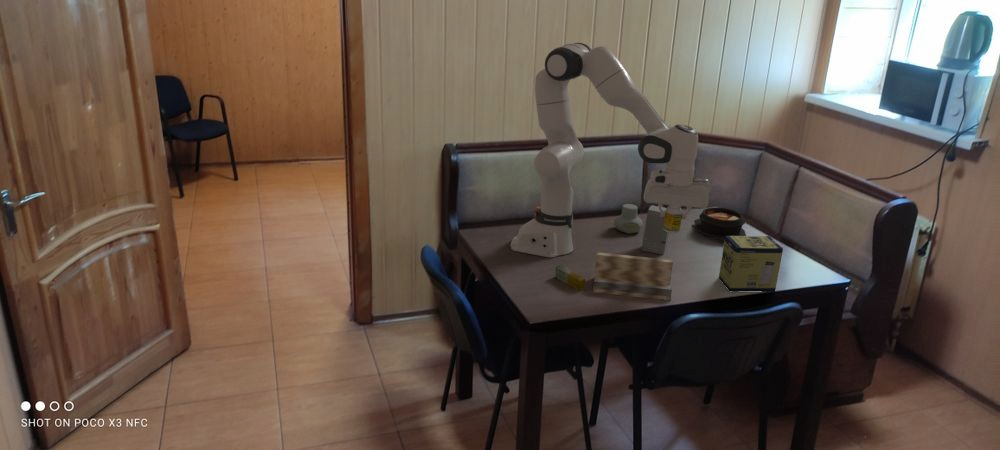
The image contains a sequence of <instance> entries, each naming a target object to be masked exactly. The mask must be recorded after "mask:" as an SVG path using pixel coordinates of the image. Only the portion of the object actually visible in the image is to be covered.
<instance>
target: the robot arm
mask: <svg viewBox="0 0 1000 450" xmlns="http://www.w3.org/2000/svg"><path fill="white" fill-rule="evenodd" d="M544 61H545V62H544V69H541V70H540V71H538V72H537V74H536V75H535V81H534V82H535V84H534V91H535V92H534V95H535V105H536V112H537V113H536V114H537V118H538V119H537V121H538V126H539V127H540V130H541V131H543V133H544V135H545V137H546V140H547V143H548V145H547V146H544V147H543V148H541V150H539V152H538V153H537V155H535V158H534V161H533V165H534V166H533V167H534V170H535V171H536V173H537V174H538V176H539V180H540V181H539V182H540V187H541V195H540V206H538V205H537V206H535V208H534V214H533V215H534V216H533V218H532V219H531V220H529V221H528V222H526V223H524V224H522V226H521V227H520V229H519V230H518V233H517V235H516V236H514V237H513V238H512V240H511V242H510V249H511V250H512V251H514V252H519V253H524V254H528V255H529V254H530V255H534V256H535V255H536V256H540V257H545V258H556V257H558V256H564V255H568V254H570V253H572V252H573V251H574V245H573V238H572V227H573V222H574V221H573V220H574V212H573V201H574V189H573V188H572V186H571V181H570V172H571V170H573V169H574V168H576V167H578V165H580V163H581V161H582V160H583V158H584V155H585V149H584V146H583V143H581V141H579V138H578V136H577V133H576V130H575V128H574V125H573V120H572V114H571V113H572V112H571V107H570V99H569V92H568V85H569V83H570V81H571V80H575V79H576V78H579V77H581V76H583V77H586V78H588V80H589V81H590V82H591V84H592V85H593V87H594V88H595V89H596V92H597V93H598V94H599V96H600V97H601V98H602V99H603V100H604V101H605V102H606V104H608V105H609V106H612V107H617V108H621V109H624V110H626V111H628V112H630V113H631V114H632V115H633V116H634V117H635V119H636V120H637V121H638V122H639V124H640V125H641V127H642V128H643V130H644V131H645V132H646V135H644V136H643V137H642V138H641V139H640V140H639V142H638V145H637V151H638V155H639V157H640V158H641V159H642V160H643V161H644V162H646V163H648V164H665V167H664V168H661V169H655V170H652V171H651V173H650V176H649V177H650V178H649V179H648V181H647V182H646V185H645V188H644V191H643V200H644V202H645V203H648V204H655V205H656V204H657V206H658V207H659V209H660V212H661V213H660V217H665V213H666V212H665V211H663V210H662V207H664V205H666V206H668V205H672V204H677V205H679V206H681V207H686V210H685V211H684V212H683V211H682V219H681V220H687V217H688V215H689V213H691V211H692V208H697V209H698V208H699V209H707V207H708V206H709V199H710V198H709V196H710V194H709V193H711V191H712V187H713V184H712V182H711V181H710V180H708V179H706V178H704V179H701V178H698V177H697V178H695V177H694V176H695V169H696V167H695V161H696V160H697V157H698V149H699V134H698V132H697V130H696V129H694V128H693V127H691V126H689V125H686V124H675V125H673V126H671V125H669V124H668V123H666V122H665V121H664V120H663V118H662V116H661V117H660V115H659V114H658V112H657V111H656V110H655V108H654V107H653V105H651V103H650V102H649V100H648V99H647V98H646V96H645V95H643V93H642V92H641V90H640V89H639V88H638V86H637V85H636V83H635V82H634V80H633V79H632V77H631V76H630V74H629V73H628V71H627V69H626V68H625V67H624V65H623V64H622V62H621V61H620V60H619V59H618V58H617V56H616V55H615V54H614V53H613V51H611V50H610V49H609V48H608V47H606V46H600V45H599V46H596V47H594V48H591V47H590V46H589V45H587V44H585V43H583V42H574V43H567V44H564V45H562V46H559V47H556V48H554V49H552V50H551V51H550V52H549V53H548V54H547V56H546V57H545V59H544Z"/></svg>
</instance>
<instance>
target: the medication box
mask: <svg viewBox="0 0 1000 450" xmlns="http://www.w3.org/2000/svg"><path fill="white" fill-rule="evenodd" d="M555 277H556V278H557V279H558V280H560V281H562V282H563V283H565V284H567V285H569V286H570V287H572V288H574V289H575V290H577V291H584V290H585V289H586V278H585V277H583V276H581V275H580V274H578V273H576V272H574V271H573V270H571V269H569V268H567V267H566V266H564V265H562V264H560V265H557V266H556V267H555Z"/></svg>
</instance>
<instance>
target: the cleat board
mask: <svg viewBox="0 0 1000 450" xmlns="http://www.w3.org/2000/svg"><path fill="white" fill-rule="evenodd" d="M595 260H596V261H595V269H594V279H593V285H592V286H593V287H592V292H593V293H597V294H608V295H616V296H617V295H618V296H625V297H637V298H643V299H644V298H645V299H651V298H655V299H654V300H660V299H664V300H663V301H669V300H672V290H673V288H672V287H671V280H672V271H673V265H674V260H673V259H664V258H656V257H655V258H653V257H647V256H646V257H645V256H634V255H627V254H617V253H608V252H606V253H605V252H599V251H598V252H596V259H595Z"/></svg>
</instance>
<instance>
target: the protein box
mask: <svg viewBox="0 0 1000 450" xmlns="http://www.w3.org/2000/svg"><path fill="white" fill-rule="evenodd" d="M783 250H784V248H783V247H782V246H781V245H780V244H779V243H778V242H776V241H775V239H774V238H772V237H771V236H769V235H746V236H725V241H723V249H722V253H721V254H722V255H721V262H720V267H719V272H718V273H719V274H718V280H719V281H720V280H721V281H722V282H723V283H722V282H721V281H720V282H721V283H722V285H723V286H724V285H725V286H726V287H727V288H728V289H727V288H726V287H725V286H724V287H725V288H726V289H727V291H728V290H729V291H762V292H761V293H776V289H777V283H778V277H779V273H780V266H781V262H782V255H783ZM729 291H728V292H729Z"/></svg>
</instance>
